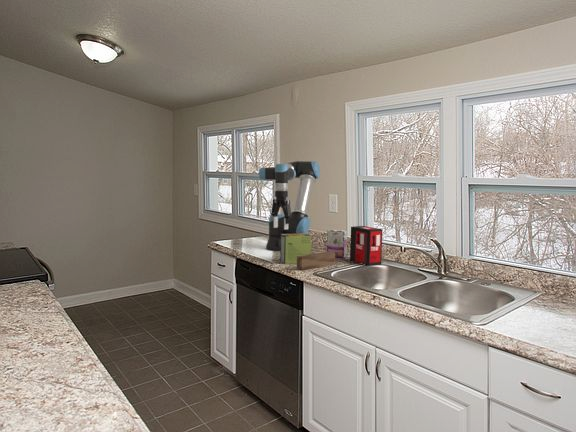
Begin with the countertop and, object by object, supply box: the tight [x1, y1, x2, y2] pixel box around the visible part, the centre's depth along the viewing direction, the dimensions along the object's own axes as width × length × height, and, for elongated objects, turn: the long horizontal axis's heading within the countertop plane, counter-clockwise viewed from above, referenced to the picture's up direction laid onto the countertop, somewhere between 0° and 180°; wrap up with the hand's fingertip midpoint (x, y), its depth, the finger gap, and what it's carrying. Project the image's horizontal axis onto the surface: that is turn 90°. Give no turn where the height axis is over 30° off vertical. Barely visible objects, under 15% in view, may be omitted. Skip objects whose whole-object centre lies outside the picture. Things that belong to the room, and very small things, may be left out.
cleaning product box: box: [349, 225, 383, 267], centre depth 245 cm, size 16×9×20 cm, turn 31°
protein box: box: [279, 233, 312, 265], centre depth 245 cm, size 10×15×16 cm
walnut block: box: [296, 251, 336, 271], centre depth 232 cm, size 4×24×7 cm, turn 129°
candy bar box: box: [326, 229, 348, 259], centre depth 261 cm, size 11×5×16 cm, turn 62°
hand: (280, 228), depth 255 cm, fingers open, 9 cm apart
